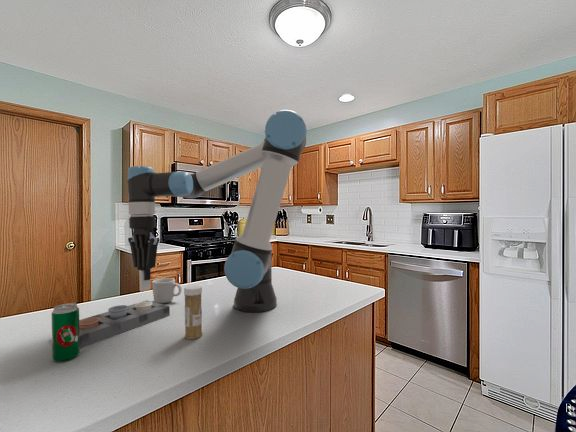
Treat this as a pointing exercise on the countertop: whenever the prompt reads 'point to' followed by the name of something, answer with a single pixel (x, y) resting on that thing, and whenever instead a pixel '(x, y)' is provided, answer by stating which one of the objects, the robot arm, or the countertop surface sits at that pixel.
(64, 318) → the soda can
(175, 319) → the countertop surface
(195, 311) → the sprinkles bottle
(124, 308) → the slate button
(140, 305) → the cream button
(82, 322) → the terracotta button
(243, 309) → the robot arm
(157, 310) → the button panel
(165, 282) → the cup
